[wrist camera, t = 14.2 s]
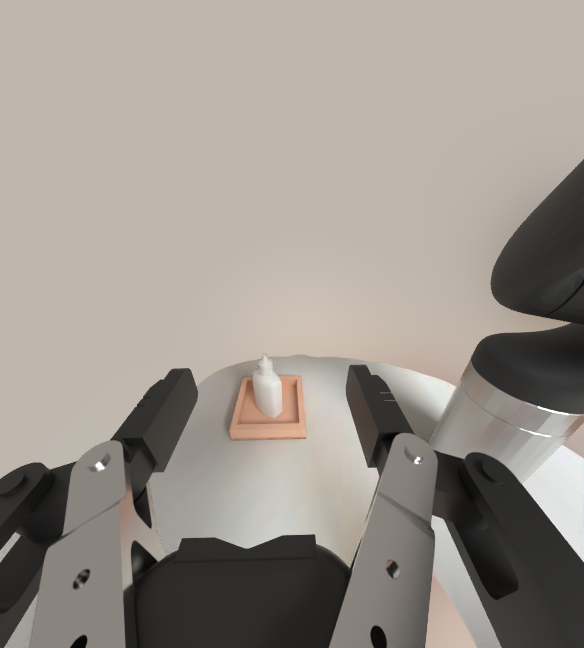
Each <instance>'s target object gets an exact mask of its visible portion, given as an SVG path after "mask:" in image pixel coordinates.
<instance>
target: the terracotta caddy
mask: <svg viewBox="0 0 584 648" xmlns="http://www.w3.org/2000/svg"><path fill="white" fill-rule="evenodd" d="M279 378H280V380H281V384H282V412H281V413H280V414H279V415H278V416H277V417H276V418H271V417H268V416H266V415H264V414H263V413H262V412H261V411H260V410H259V409H258V407H257V406H256V403H255V396H254V388H253V378H252V377H243V379H242V383H241V387H240V391H239V395H238V399H237V402H236V406H235V410H234V414H233V418H232V422H231V425H230V429H229V432H230V436H231V440H268V439H306V421H305V410H304V400H303V389H302V378H301V376H279Z"/></svg>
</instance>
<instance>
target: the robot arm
mask: <svg viewBox="0 0 584 648" xmlns="http://www.w3.org/2000/svg"><path fill="white" fill-rule="evenodd" d="M491 290H492V294H493V296H494V298H495V299H496V300H497V301H498V302H499V303H500V304H501V305H503V306H505V307H507V308H509V309H511V310H514V311H517V312H521V313H525V314H530V315H535V316H540V317H545V318H551V319H556V320H561V321H566V322H572V323H570V324H568V325H565V326H562V327H559V328H555V329H551V330H545V331H537V332H523V333H500V334H494V335H490V336H487V337H485V338H484V339H482V341H480V342H479V344H478V345H477V347H476V349H475V351H474V353H473V355H472V357H471V359H470V361H469V363H468V365H467V367H466V369H465V371H464V373H463V375H462V377H461V379H460V381H459V383H458V385H457V387H456V389H455V391H454V392H453V394H452V396H451V398H450V400H449V402H448V404H447V406H446V408H445V410H444V412H443V414H442V416H441V418H440V420H439V422H438V424H437V425H436V427H435V429H434V431H433V433H432V435H431V437H430V439H429V441H428V443H427V442H426V441H424V440H423V439H422V438H420V437H418V436H416V435H415V434H414V432H413V431H412V429H411V427H410V425H409V423H408V422H407V420H406V418H405V416H404V415H403V413H402V411H401V409H400V407H399V406H398V404H397V402H396V401H395V398H394V397H393V395H392V394H391V391H390V389H389V388H388V386H387V384H386V382H384V381H383V380H382V379H381V378H380V377H379V376H378V375H371V374H370V372H369V370H368V368H367V366H366V365H350V366H349V371H348V377H347V384H346V396H347V401H348V404H349V407H350V410H351V414H352V417H353V420H354V423H355V427H356V430H357V433H358V436H359V440H360V443H361V446H362V449H363V453H364V456H365V459H366V462H367V466H368V468H376V467H377V470H378V473H379V476H380V477H379V480H378V483H377V486H376V489H375V492H374V495H373V498H372V501H371V504H370V508H369V511H368V514H367V517H366V520H365V523H364V526H363V529H362V532H361V535H360V538H359V540H358V543H357V546H356V549H355V553H354V556H353V559H352V562H351V565H350V568H349V567H348V566H347V565H346V563H344V562H343V561H342V560H341V559H340V558H339V557H338V556H337V555H336V554H334V553H333V552H332V551H330V550H328V549H326V548H325V547H323V546H320V545H317V544H316V540H315V535H283V536H280V537H277V538H275V539H272V540H270V541H267V542H265V543H262V544H260V545H257V546H255V547H252V548H249V549H245V548H242V547H239V546H236V545H234V544H231V543H228V542H226V541H223V540H220V539H217V538H182V540H181V543H180V546H179V549H178V550H177V551H175V552H173V553H171V554H169V555H168V556H166V557H165V552H164V549H163V545H162V543H161V540H160V538H159V535H158V532H157V528H156V521H155V515H154V509H153V503H152V497H151V490H150V485H149V482H148V480H149V478H150V476H151V474H152V472H164V470H165V468H166V466H167V464H168V462H169V460H170V457H171V455H172V453H173V451H174V449H175V447H176V445H177V442H178V440H179V438H180V436H181V434H182V432H183V430H184V428H185V425H186V423H187V421H188V419H189V417H190V415H191V413H192V410H193V408H194V406H195V404H196V402H197V398H198V390H197V387H196V384H195V381H194V378H193V375H192V372H191V370H190V369H189V368H183V369H182V368H181V369H172V370H171V371H170V372H169V373H168V375H167V376H166V377H165V379H164V380H159V381H158V382H157V383H156V384H154V385H153V386H152V387H150V389H149V390H148V391H147V393H146V394H145V395H144V396H143V399H142V400H141V401H140V402H139V403H138V404H137V407H135V408H134V410H133V411H132V412H131V414H130V415H129V416H128V417H127V419H126V420H125V422H124V423H123V424H122V426H121V427H120V428H119V429H118V431H117V432H116V433H115V434H114V436H113V437H112V438H111V440H110V441H106V442H103V443H101V444H99V445H97V446H95V447H93V448H92V449H90V450H89V451H87V452H86V453H85V454H84V455H83V456H82V457H81V458H80V459H79V460H78V461H76V462H73V463H70V464H67V465H63V466H60V467H57V468H54V469H51V470H49V469H48V468H47V467H46V466H45V465H43V464H42V463H30V464H27V465H24V466H21V467H19V468H17V469H16V470H14V471H12V472H10V473H8V474H7V475H5V476H4V477H3V478H1V479H0V550H1V549H2V548H3V546H4V545H5V544H6V543H7V541H8V540H9V539H10V538H11V536H12V535H13V534H14V533H15V532H16V533H17V534H19V535H21V536H20V538H19V539H18V540H17V542H16V543H15V544H14V546H13V547H12V548H11V549H10V551H9V552H8V553H7V555H6V556H5V557H4V559H3V560H2V561H1V563H0V648H4V647H5V645H6V643H7V642H8V640H9V639H10V637H11V635H12V634H13V632H14V630H15V629H16V627H17V625H18V624H19V622H20V621H21V619H22V617H23V616H24V614H25V612H26V611H27V609H28V607H29V606H30V604H31V603H32V601H33V599H34V598H35V596H36V594H37V593H38V591H39V593H38V599H37V605H36V610H35V616H34V622H33V628H32V633H31V639H30V645H29V648H425V643H426V632H427V622H428V611H429V601H430V591H431V581H432V570H433V560H434V550H435V534H434V531H433V530H432V528H431V518H432V515H434V516H437V517H440V518H442V519H444V521H445V523H446V525H447V527H448V530H449V532H450V534H451V536H452V538H453V541H454V543H455V545H456V547H457V549H458V552H459V554H460V556H461V558H462V561H463V563H464V565H465V567H466V569H467V572H468V574H469V576H470V578H471V580H472V583H473V585H474V587H475V589H476V591H477V594H478V596H479V598H480V600H481V603H482V605H483V607H484V609H485V611H486V614H487V616H488V618H489V620H490V622H491V625H492V627H493V629H494V631H495V633H496V636H497V638H498V640H499V642H500V645H501V647H502V648H584V562H583V561H582V560H581V559H580V557H579V556H578V555H577V553H576V552H575V551H574V550H573V548H572V547H571V546H570V545H569V543H568V542H567V541H566V540H565V538H564V537H563V536H562V534H561V533H560V532H559V531H558V529H557V528H556V527H555V526H554V524H553V523H552V522H551V521H550V519H549V518H548V517H547V516H546V514H545V513H544V512H543V510H542V509H541V508H540V507H539V505H538V504H537V503H536V502H535V500H534V499H533V498H532V497H531V495H530V494H529V493H528V491H527V490H526V489H525V488H524V486H523V485H522V483H523V482H524V481H525V480H526V479H527V478H528V477H529V476H530V475H531V474H532V473H533V472H534V471H535V470H536V469H537V468H538V467H540V466H541V465H542V464H543V463H544V462H545V461H546V460H547V459H548V458H549V457H550V456H551V455H552V454H553V453H554V452H555V451H556V450H557V449H558V448H559V447H560V446H561V445H562V444H563V443H564V442H565V441H566V440H567V439H568V438H569V437H570V436H571V435H572V434H573V433H574V432H575V431H576V430H577V429H578V428H579V427H580V426H581V425H582V424H583V423H584V159H583V161H582V162H581V163H580V164H579V165H578V166H577V167H576V168H575V169H574V170H573V171H572V172H571V173H570V174H569V175H568V176H567V177H566V178H565V179H564V180H563V181H562V182H561V183H560V184H559V185H558V186H557V187H556V188H555V189H554V190H553V191H552V192H551V193H550V194H549V195H548V197H547V198H546V199H545V200H544V201H543V202H542V203H541V204H540V205H539V206H538V207H537V208H536V209H535V210H534V211H533V212H532V213H531V214H530V216H529V217H528V218H527V219H526V220H525V221H524V222H523V223H522V224H521V225H520V227H519V228H518V229H517V231H516V232H515V233H514V234H513V236H512V237H511V238H510V239H509V241H508V243H507V244H506V246H505V247H504V249H503V250H502V252H501V254H500V256H499V257H498V259H497V261H496V263H495V266H494V268H493V272H492V277H491Z"/></svg>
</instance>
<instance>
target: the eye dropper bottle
mask: <svg viewBox="0 0 584 648" xmlns="http://www.w3.org/2000/svg"><path fill="white" fill-rule="evenodd" d="M252 378H253V388H254V396H255V403H256V406H257V407H258V409H259V410H260V411H261V412H262V413H263V414H264V415H266V416H268V417H271V418H276V417H277V416H278V415H279V414H280V413H281V412H282V384H281V380H280V378H279V376H278V375H277V374H276V372H275V371H273V361H272V359H270V358H268V357H267V354H263V356H262V359H260V360H259V361H258V368H257V369H256V370H255V371H254V372H253V374H252Z"/></svg>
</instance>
